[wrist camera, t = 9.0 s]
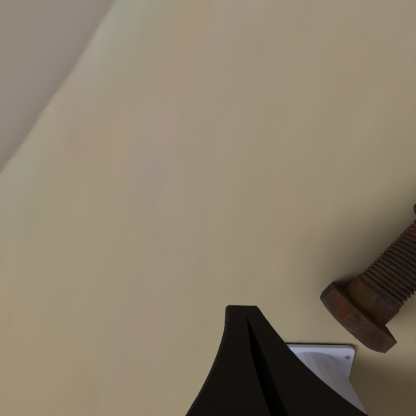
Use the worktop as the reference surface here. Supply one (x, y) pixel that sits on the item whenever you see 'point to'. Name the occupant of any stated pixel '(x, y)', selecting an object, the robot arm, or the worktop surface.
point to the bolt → (376, 294)
